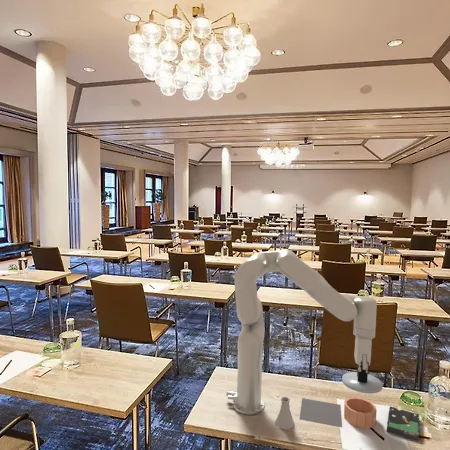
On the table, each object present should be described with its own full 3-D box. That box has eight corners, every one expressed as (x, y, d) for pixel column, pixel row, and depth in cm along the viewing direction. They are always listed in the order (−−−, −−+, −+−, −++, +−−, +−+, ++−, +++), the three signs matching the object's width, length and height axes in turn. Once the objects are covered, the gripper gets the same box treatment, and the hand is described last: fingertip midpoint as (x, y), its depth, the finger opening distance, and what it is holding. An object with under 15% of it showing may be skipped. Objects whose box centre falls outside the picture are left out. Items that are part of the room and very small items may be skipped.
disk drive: (388, 412, 140) (386, 433, 127) (389, 405, 140) (386, 425, 127) (418, 420, 135) (419, 442, 122) (419, 413, 135) (420, 435, 122)
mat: (299, 421, 132) (299, 418, 132) (302, 399, 146) (302, 398, 146) (341, 429, 128) (342, 427, 128) (340, 406, 142) (340, 404, 142)
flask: (280, 417, 134) (281, 391, 133) (298, 425, 129) (299, 398, 129) (270, 426, 128) (271, 399, 128) (288, 434, 124) (289, 407, 123)
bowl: (344, 426, 129) (345, 410, 129) (343, 410, 140) (343, 395, 140) (377, 433, 126) (378, 416, 126) (373, 415, 137) (374, 400, 137)
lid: (343, 389, 127) (343, 374, 127) (341, 372, 141) (341, 358, 141) (385, 396, 124) (386, 380, 123) (379, 377, 137) (380, 363, 137)
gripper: (351, 323, 140) (349, 368, 141) (355, 337, 124) (352, 389, 125) (372, 325, 138) (370, 371, 139) (378, 340, 122) (375, 392, 123)
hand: (361, 379), depth 132 cm, fingers closed on lid, 3 cm apart
